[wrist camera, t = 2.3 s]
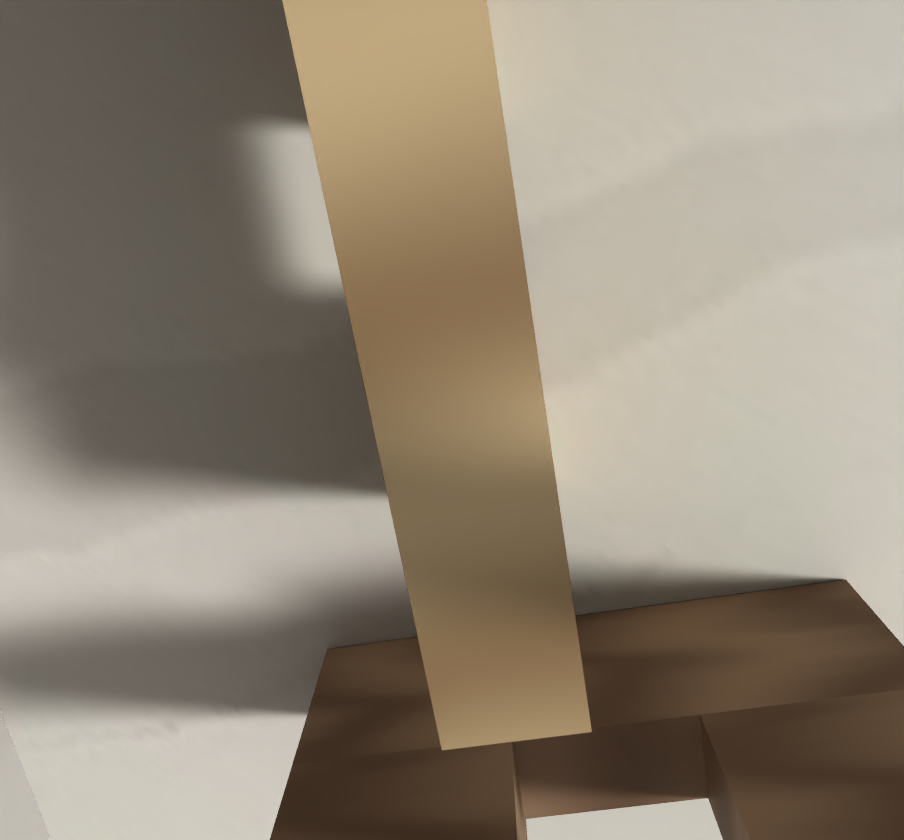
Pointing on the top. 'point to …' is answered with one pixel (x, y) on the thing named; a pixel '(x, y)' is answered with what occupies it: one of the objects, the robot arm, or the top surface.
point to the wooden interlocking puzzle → (447, 352)
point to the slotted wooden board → (631, 730)
